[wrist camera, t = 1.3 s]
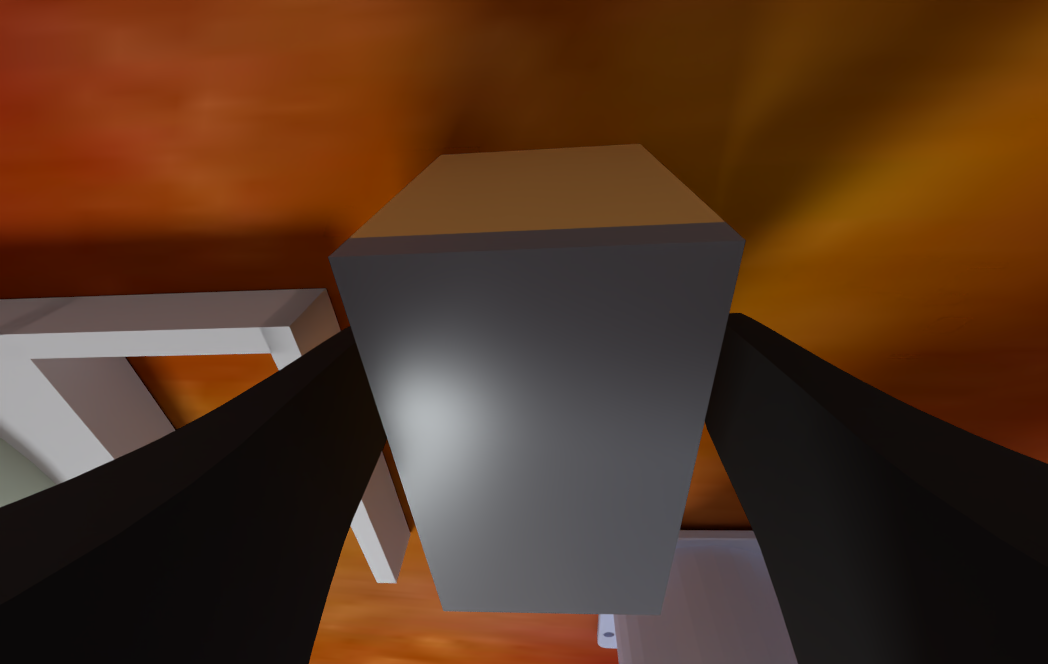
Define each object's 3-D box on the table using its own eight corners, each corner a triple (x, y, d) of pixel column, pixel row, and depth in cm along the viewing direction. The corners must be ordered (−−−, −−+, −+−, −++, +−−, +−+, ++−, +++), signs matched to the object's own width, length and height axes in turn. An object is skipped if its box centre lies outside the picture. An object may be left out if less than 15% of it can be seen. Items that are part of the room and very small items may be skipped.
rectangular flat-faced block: (618, 409, 14) (660, 615, 9) (480, 410, 14) (443, 611, 9) (638, 143, 10) (745, 240, 4) (441, 154, 10) (328, 257, 5)
